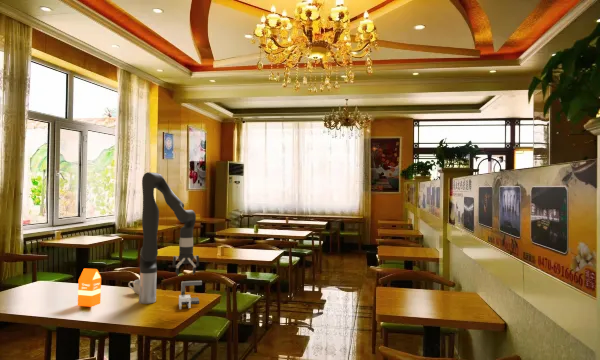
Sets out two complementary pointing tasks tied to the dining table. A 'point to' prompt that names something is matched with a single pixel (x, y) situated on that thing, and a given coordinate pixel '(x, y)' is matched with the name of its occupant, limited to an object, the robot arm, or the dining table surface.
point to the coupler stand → (189, 283)
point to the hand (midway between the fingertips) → (185, 274)
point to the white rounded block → (184, 300)
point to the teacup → (135, 285)
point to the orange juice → (89, 288)
